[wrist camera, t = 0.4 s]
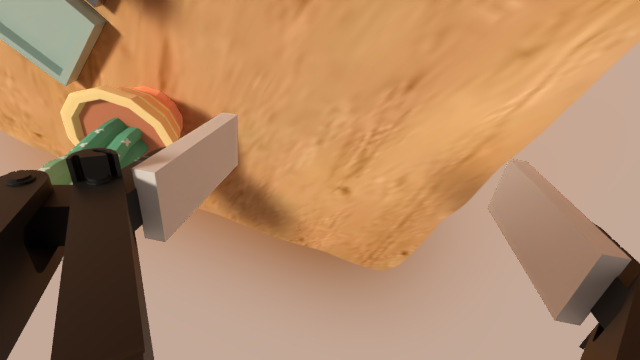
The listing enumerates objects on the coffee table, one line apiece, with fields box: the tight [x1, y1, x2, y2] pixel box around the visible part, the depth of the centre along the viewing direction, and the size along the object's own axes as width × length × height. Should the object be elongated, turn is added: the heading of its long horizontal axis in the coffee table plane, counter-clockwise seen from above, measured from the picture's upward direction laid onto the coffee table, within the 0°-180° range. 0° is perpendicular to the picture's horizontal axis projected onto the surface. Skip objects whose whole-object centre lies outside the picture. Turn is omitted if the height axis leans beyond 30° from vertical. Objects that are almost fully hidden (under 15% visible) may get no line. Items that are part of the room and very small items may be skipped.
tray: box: [0, 0, 107, 86], centre depth 38 cm, size 12×14×2 cm
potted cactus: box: [38, 85, 183, 261], centre depth 38 cm, size 15×16×25 cm
